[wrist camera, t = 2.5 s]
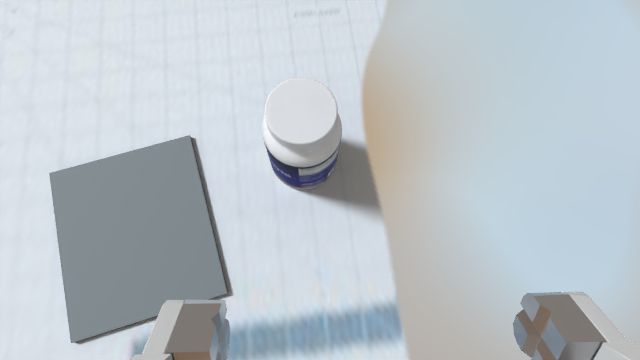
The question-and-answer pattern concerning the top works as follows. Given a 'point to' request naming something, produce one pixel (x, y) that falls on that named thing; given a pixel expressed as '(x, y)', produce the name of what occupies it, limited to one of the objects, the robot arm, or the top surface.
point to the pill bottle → (302, 132)
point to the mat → (134, 237)
